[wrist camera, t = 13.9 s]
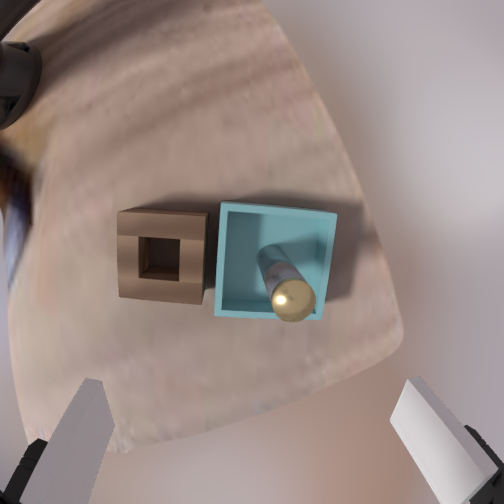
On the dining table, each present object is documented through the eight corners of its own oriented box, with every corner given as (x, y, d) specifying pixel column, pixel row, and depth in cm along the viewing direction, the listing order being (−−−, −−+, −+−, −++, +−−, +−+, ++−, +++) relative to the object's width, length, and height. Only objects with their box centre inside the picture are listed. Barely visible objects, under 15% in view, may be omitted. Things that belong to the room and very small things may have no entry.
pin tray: (222, 200, 35) (220, 203, 31) (325, 210, 36) (337, 213, 32) (215, 301, 38) (214, 315, 34) (311, 305, 39) (321, 319, 35)
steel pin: (258, 243, 36) (275, 280, 22) (286, 245, 36) (319, 282, 23) (255, 271, 37) (270, 321, 23) (283, 273, 37) (312, 322, 23)
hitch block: (131, 208, 35) (117, 211, 30) (208, 212, 36) (205, 216, 31) (131, 283, 37) (119, 297, 32) (204, 289, 38) (201, 304, 33)
